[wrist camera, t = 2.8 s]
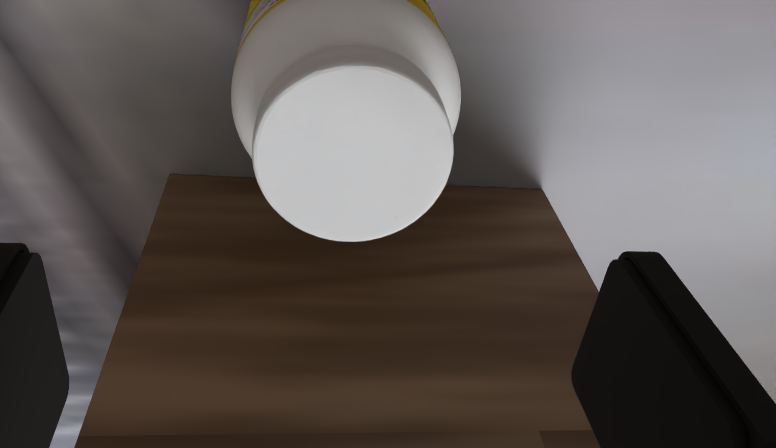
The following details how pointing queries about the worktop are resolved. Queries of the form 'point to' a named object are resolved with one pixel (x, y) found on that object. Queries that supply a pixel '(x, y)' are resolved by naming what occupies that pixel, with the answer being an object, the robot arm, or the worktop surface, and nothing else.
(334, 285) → the box
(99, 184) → the worktop surface
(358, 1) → the pill bottle
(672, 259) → the worktop surface
